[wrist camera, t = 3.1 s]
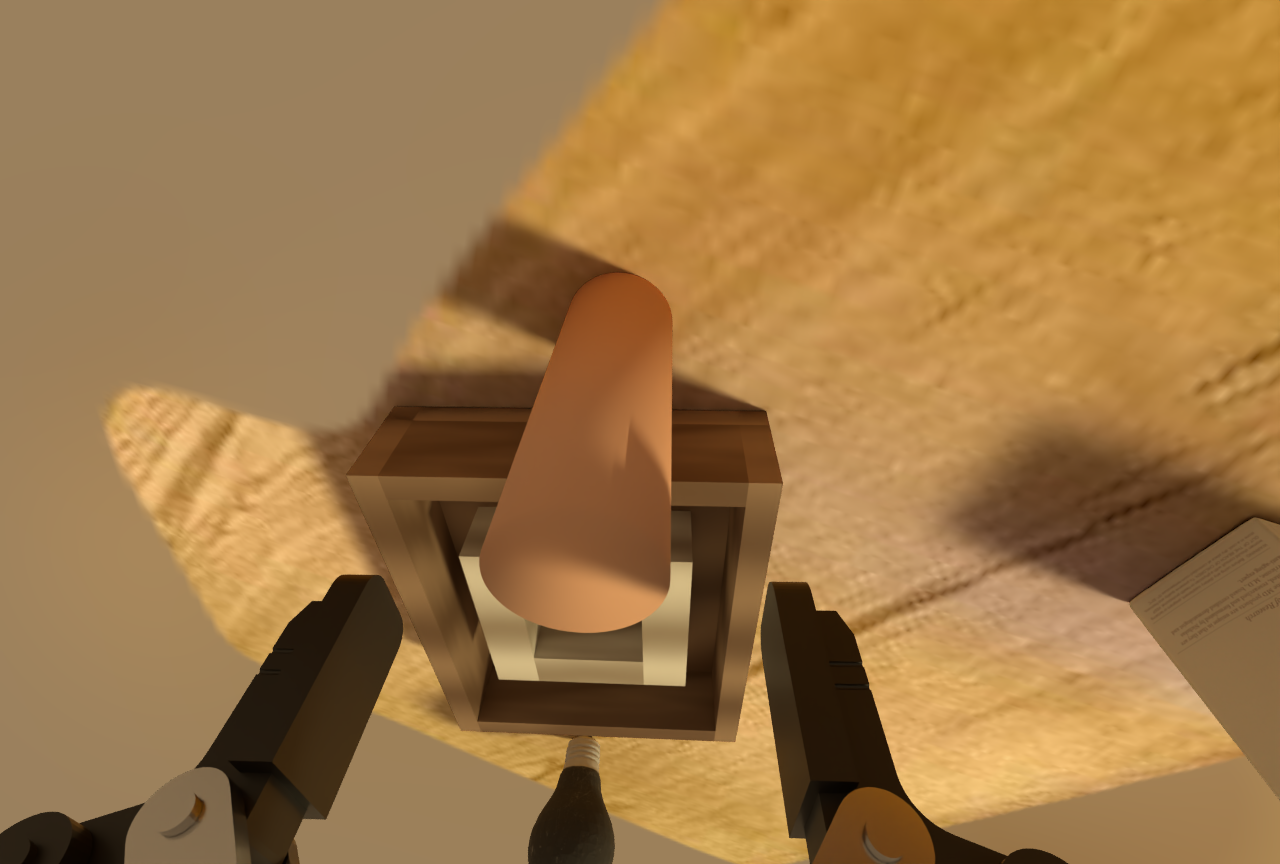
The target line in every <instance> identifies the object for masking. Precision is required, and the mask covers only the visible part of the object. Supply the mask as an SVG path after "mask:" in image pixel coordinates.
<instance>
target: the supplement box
mask: <svg viewBox="0 0 1280 864" xmlns="http://www.w3.org/2000/svg"><path fill="white" fill-rule="evenodd" d="M1129 605H1130V607H1131V609H1132V610H1133V611H1134V613H1135V614H1136V615H1137V617H1138V618H1139V619H1140V620H1141V622H1142V623H1143V624H1144V626H1145V627H1146V628H1147V630H1148V631H1149V632H1150V634H1151V635H1152V636H1153V638H1154V639H1155V640H1156V641H1157V643H1158V644H1159V645H1160V647H1161V648H1162V649H1163V650H1164V652H1165V653H1166V654H1167V656H1168V657H1169V658H1170V659H1171V661H1172V662H1173V663H1174V665H1175V666H1176V667H1177V668H1178V670H1179V671H1180V672H1181V674H1182V675H1183V676H1184V677H1185V679H1186V680H1187V681H1188V683H1189V684H1190V685H1191V686H1192V688H1193V689H1194V690H1195V692H1196V693H1197V694H1198V695H1199V697H1200V698H1201V699H1202V701H1203V702H1204V703H1205V704H1206V706H1207V707H1208V708H1209V710H1210V711H1211V712H1212V714H1213V715H1214V716H1215V717H1216V719H1217V720H1218V721H1219V723H1220V724H1221V725H1222V726H1223V728H1224V729H1225V730H1226V732H1227V733H1228V734H1229V735H1230V737H1231V738H1232V739H1233V741H1234V742H1235V743H1236V744H1237V746H1238V747H1239V748H1240V749H1241V751H1242V752H1243V753H1244V755H1245V756H1246V757H1247V759H1248V760H1249V761H1250V763H1251V764H1252V765H1253V766H1254V768H1255V769H1256V770H1257V772H1258V773H1259V774H1260V775H1261V777H1262V778H1263V779H1264V780H1265V782H1266V783H1267V784H1268V786H1269V787H1270V788H1271V790H1272V791H1273V792H1274V793H1275V795H1276V796H1277V797H1278V798H1279V800H1280V525H1279V524H1276V523H1273V522H1269V521H1266V520H1263V519H1260V518H1252V519H1250V520H1248V521H1247V522H1245V523H1244V524H1242V525H1240V526H1239V527H1238V528H1236V529H1235V530H1233V531H1232V532H1230V533H1229V534H1227V535H1226V536H1224V537H1223V538H1221V539H1220V540H1218V541H1217V542H1215V543H1214V544H1212V545H1211V546H1210V547H1208V548H1206V549H1205V550H1203V551H1202V552H1200V553H1199V554H1197V555H1196V556H1195V557H1193V558H1192V559H1190V560H1189V561H1187V562H1186V563H1184V564H1183V565H1181V566H1180V567H1178V568H1177V569H1175V570H1174V571H1172V572H1171V573H1170V574H1168V575H1167V576H1165V577H1164V578H1162V579H1161V580H1160V581H1158V582H1157V583H1155V584H1154V585H1153V586H1151V587H1150V588H1148V589H1146V590H1145V591H1143V592H1142V593H1141V594H1139V595H1138V596H1137V597H1135V598H1134V599H1133V600H1132V601H1131V602H1130V604H1129Z"/></svg>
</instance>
